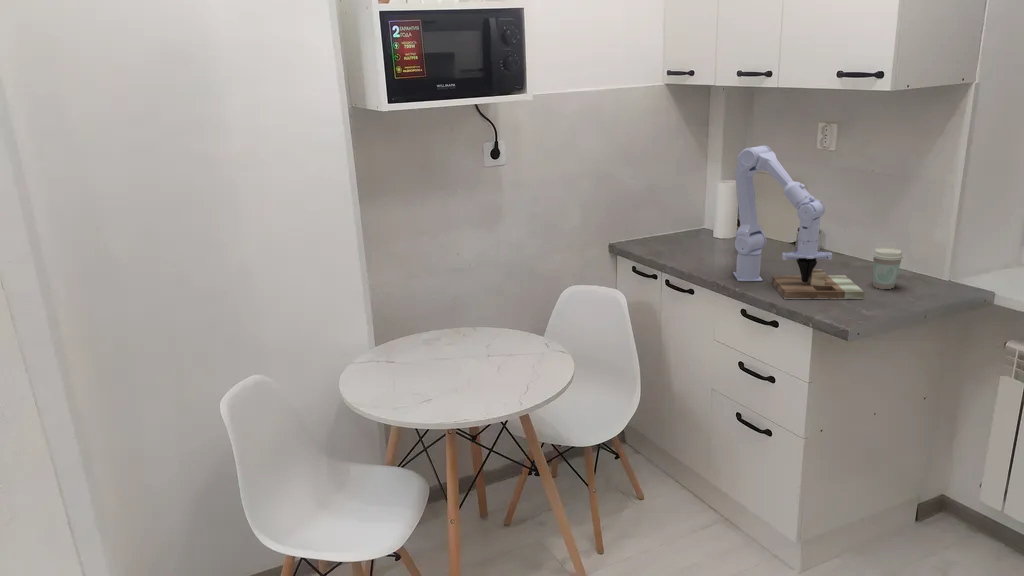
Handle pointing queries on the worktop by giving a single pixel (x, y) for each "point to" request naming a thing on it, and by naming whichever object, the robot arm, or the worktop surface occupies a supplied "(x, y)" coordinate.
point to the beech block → (817, 277)
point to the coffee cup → (886, 267)
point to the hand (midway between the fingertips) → (804, 281)
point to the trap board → (817, 288)
